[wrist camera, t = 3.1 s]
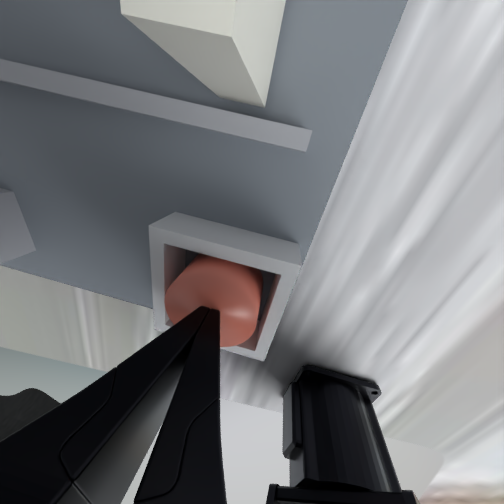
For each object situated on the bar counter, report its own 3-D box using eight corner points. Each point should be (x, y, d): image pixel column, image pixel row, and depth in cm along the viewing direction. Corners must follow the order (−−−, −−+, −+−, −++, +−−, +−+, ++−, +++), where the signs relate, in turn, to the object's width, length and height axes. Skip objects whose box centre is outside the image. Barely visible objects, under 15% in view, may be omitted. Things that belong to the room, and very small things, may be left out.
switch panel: (428, -108, 6) (744, -698, 2) (273, 314, 14) (268, 375, 10) (-149, -203, 7) (-782, -721, 3) (30, 245, 15) (-60, 277, 11)
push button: (272, 259, 9) (267, 291, 7) (254, 317, 11) (246, 356, 9) (191, 237, 9) (163, 262, 7) (188, 298, 11) (164, 332, 9)
